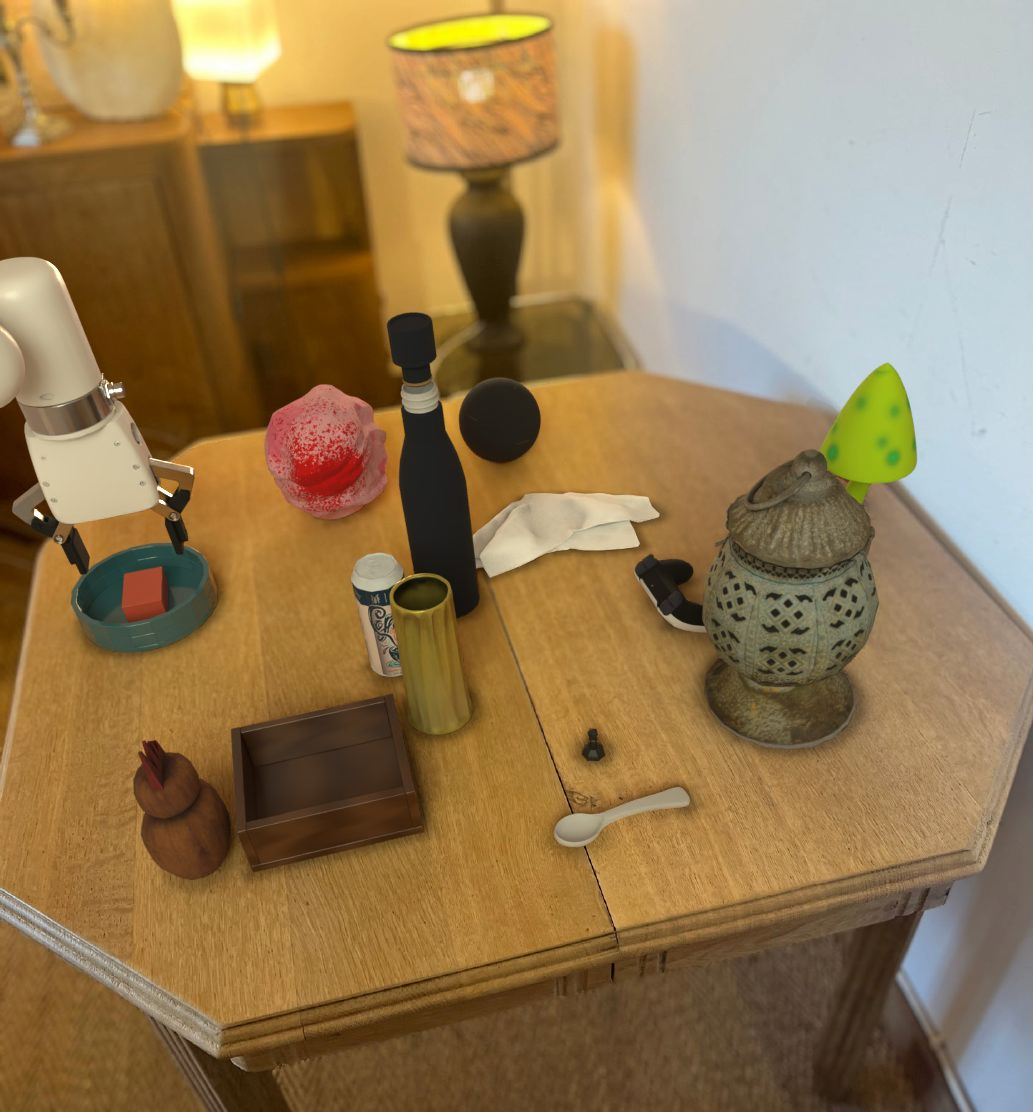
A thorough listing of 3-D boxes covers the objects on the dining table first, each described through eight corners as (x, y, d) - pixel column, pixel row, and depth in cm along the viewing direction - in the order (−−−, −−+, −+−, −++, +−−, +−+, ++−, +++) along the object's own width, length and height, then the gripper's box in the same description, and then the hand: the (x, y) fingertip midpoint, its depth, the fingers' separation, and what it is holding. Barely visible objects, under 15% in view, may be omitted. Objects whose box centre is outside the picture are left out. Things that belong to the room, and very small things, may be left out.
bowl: (78, 665, 99) (65, 639, 97) (88, 582, 109) (76, 557, 107) (219, 636, 101) (210, 610, 99) (216, 557, 111) (207, 532, 109)
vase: (468, 684, 93) (452, 564, 83) (477, 730, 89) (461, 609, 79) (405, 695, 93) (381, 575, 83) (411, 741, 89) (386, 621, 79)
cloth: (638, 478, 117) (638, 462, 116) (676, 543, 107) (677, 526, 106) (424, 516, 114) (421, 500, 113) (443, 586, 105) (440, 569, 103)
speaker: (456, 477, 120) (447, 402, 113) (470, 435, 127) (462, 362, 120) (537, 479, 118) (533, 403, 112) (546, 436, 126) (543, 362, 119)
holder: (253, 872, 79) (235, 832, 76) (246, 769, 87) (230, 728, 84) (423, 832, 81) (415, 791, 77) (401, 734, 89) (392, 693, 86)
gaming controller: (663, 593, 105) (619, 567, 100) (692, 562, 103) (648, 535, 99) (707, 656, 97) (661, 631, 93) (738, 624, 95) (694, 597, 91)
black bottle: (406, 607, 102) (355, 328, 82) (444, 574, 106) (404, 300, 85) (455, 627, 100) (414, 344, 79) (491, 593, 103) (462, 313, 82)
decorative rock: (409, 508, 106) (390, 365, 103) (275, 523, 103) (252, 376, 100) (390, 514, 124) (374, 392, 121) (276, 527, 121) (257, 402, 118)
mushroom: (829, 632, 95) (879, 395, 78) (778, 585, 101) (815, 354, 84) (899, 606, 97) (963, 370, 80) (846, 561, 103) (895, 332, 86)
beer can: (393, 687, 94) (372, 588, 85) (361, 666, 96) (337, 568, 88) (429, 660, 96) (412, 562, 88) (397, 641, 99) (377, 543, 90)
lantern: (769, 775, 83) (812, 530, 66) (665, 681, 92) (678, 444, 75) (888, 706, 88) (957, 462, 70) (777, 623, 97) (814, 388, 79)
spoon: (547, 831, 80) (547, 815, 79) (676, 791, 83) (679, 776, 82) (561, 858, 78) (562, 843, 77) (693, 817, 81) (696, 801, 80)
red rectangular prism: (168, 617, 103) (161, 599, 101) (129, 625, 102) (121, 607, 101) (168, 583, 107) (161, 566, 105) (131, 591, 107) (124, 573, 105)
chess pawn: (576, 753, 86) (575, 730, 84) (592, 740, 87) (591, 717, 85) (593, 764, 85) (593, 741, 83) (609, 751, 86) (609, 728, 84)
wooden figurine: (219, 896, 78) (158, 772, 67) (152, 888, 79) (82, 765, 68) (250, 829, 82) (198, 703, 72) (186, 822, 83) (126, 697, 73)
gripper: (164, 369, 92) (217, 520, 104) (-26, 403, 90) (50, 553, 102) (163, 406, 87) (219, 560, 99) (-38, 444, 85) (43, 596, 97)
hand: (133, 556), depth 101 cm, fingers open, 9 cm apart
